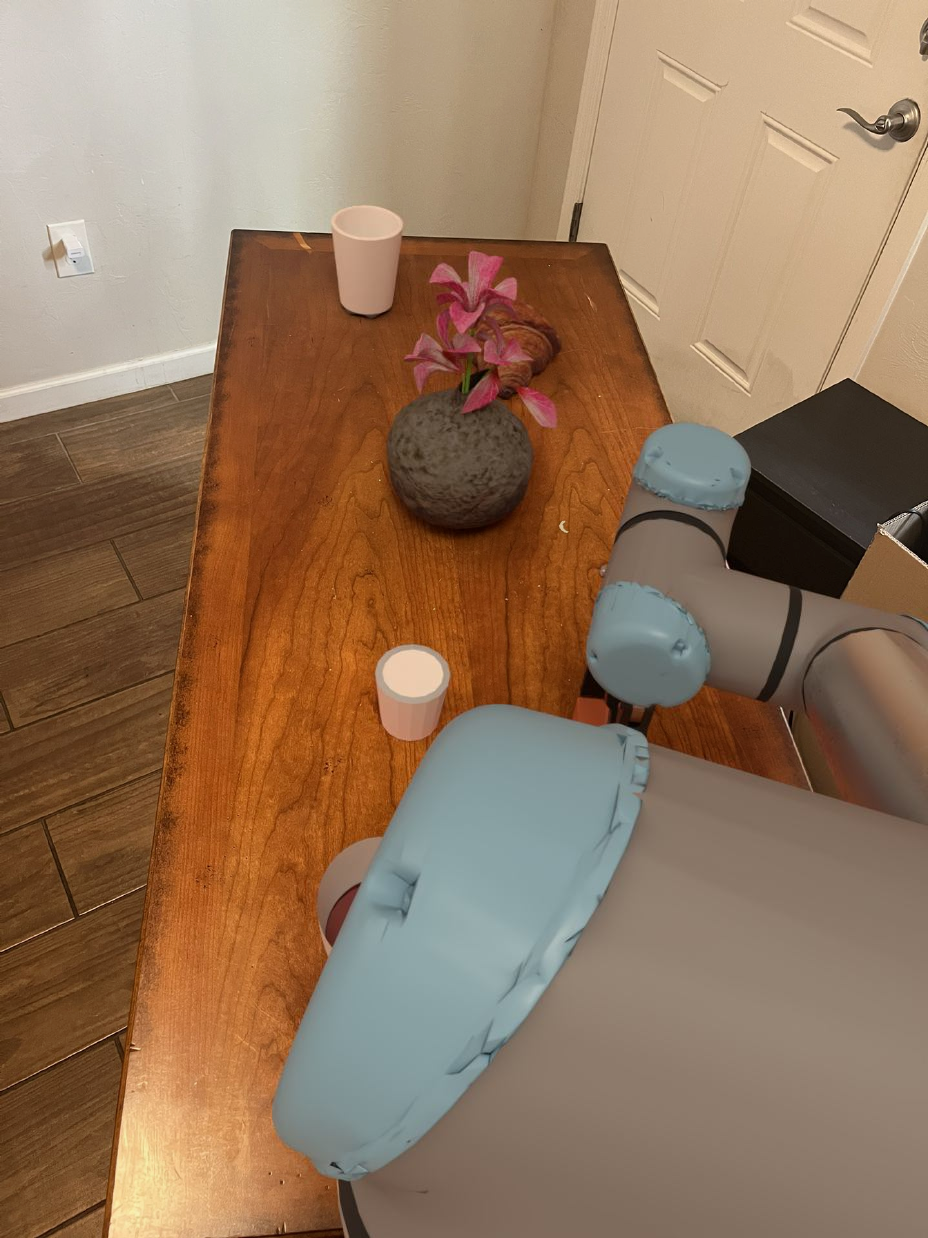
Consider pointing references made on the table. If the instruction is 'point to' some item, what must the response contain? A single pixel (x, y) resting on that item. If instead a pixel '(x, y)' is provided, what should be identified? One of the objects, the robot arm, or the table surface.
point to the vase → (465, 412)
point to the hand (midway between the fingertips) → (595, 750)
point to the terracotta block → (591, 712)
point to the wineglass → (342, 887)
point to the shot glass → (411, 690)
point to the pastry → (532, 338)
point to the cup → (366, 257)
